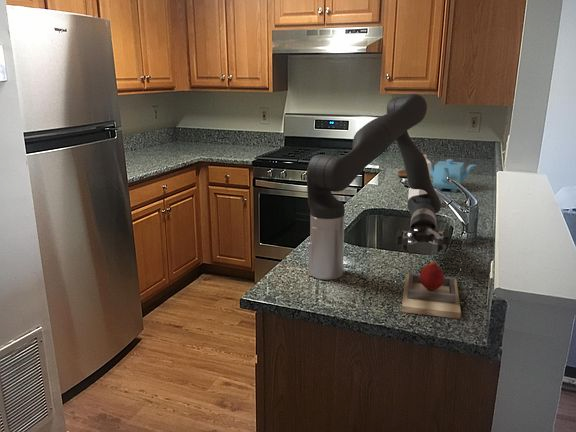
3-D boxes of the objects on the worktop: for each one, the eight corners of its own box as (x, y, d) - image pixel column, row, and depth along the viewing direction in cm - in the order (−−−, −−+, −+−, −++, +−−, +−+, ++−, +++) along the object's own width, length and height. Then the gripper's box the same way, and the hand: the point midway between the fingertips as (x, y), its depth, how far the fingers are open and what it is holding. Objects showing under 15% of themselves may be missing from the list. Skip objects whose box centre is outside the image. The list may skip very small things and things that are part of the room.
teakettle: (451, 184, 246) (453, 155, 242) (476, 191, 229) (479, 161, 225) (419, 187, 240) (421, 158, 236) (443, 195, 223) (445, 163, 219)
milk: (407, 205, 205) (410, 154, 199) (418, 204, 208) (421, 153, 202) (418, 208, 200) (421, 156, 194) (428, 206, 203) (432, 155, 197)
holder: (401, 311, 112) (402, 298, 111) (405, 278, 130) (406, 266, 129) (460, 318, 109) (461, 304, 108) (455, 283, 127) (456, 271, 126)
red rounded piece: (437, 286, 122) (440, 256, 120) (446, 295, 117) (449, 265, 114) (415, 286, 122) (417, 257, 120) (422, 296, 116) (425, 265, 114)
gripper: (398, 213, 144) (395, 235, 130) (448, 212, 140) (450, 235, 126) (399, 235, 147) (395, 260, 132) (448, 236, 143) (450, 261, 128)
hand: (422, 248), depth 129 cm, fingers open, 8 cm apart
